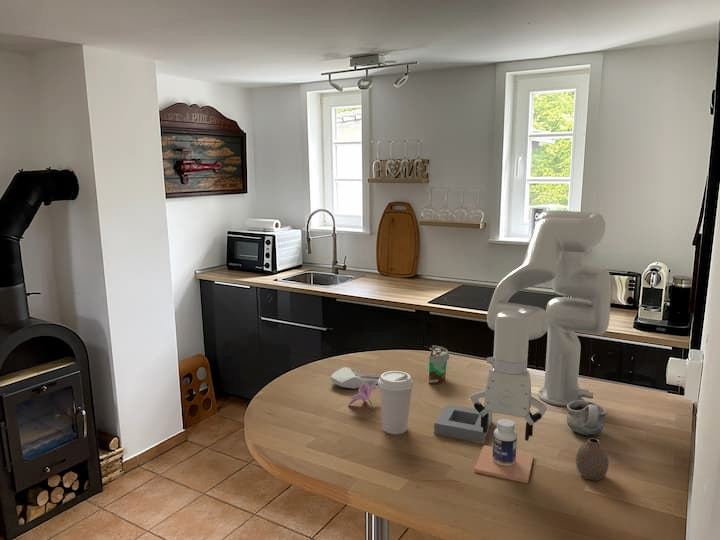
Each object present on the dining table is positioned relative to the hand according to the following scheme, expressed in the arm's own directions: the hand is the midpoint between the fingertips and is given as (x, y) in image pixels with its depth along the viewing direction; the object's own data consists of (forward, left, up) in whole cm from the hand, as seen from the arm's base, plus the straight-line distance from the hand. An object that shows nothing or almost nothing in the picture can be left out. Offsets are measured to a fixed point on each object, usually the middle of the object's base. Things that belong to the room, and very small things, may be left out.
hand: (506, 434), depth 128 cm
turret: (+51, -33, -8) cm, 61 cm away
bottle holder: (+13, -15, -8) cm, 21 cm away
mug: (-18, -24, -8) cm, 31 cm away
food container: (+28, -46, -8) cm, 54 cm away
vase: (-19, -3, -8) cm, 21 cm away
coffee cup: (+30, -7, -8) cm, 32 cm away
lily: (+43, -17, -8) cm, 47 cm away
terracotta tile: (0, 0, -8) cm, 8 cm away
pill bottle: (0, 0, -7) cm, 7 cm away
